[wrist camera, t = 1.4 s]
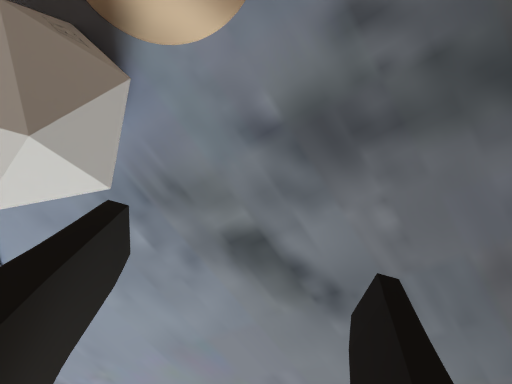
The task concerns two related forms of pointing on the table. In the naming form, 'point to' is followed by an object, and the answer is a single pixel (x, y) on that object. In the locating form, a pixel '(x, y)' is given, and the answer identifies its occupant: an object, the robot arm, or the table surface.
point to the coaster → (167, 18)
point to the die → (55, 109)
